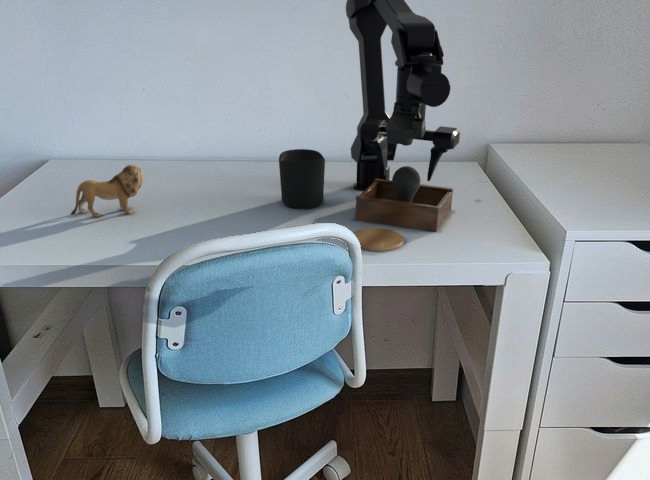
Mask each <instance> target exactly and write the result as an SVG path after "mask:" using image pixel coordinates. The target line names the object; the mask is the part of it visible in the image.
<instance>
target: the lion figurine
mask: <svg viewBox="0 0 650 480" xmlns="http://www.w3.org/2000/svg"><path fill="white" fill-rule="evenodd" d="M143 183H144V178H143V174H142V168H141V167H140V166H137V165H135V164H127V165H126V166H124V167H123V169H122V170H121V171H120V172H119V173H117V174H115V175H114V176H113V177H112V178H111V179H110V180H107V181H98V180H93V179H89V180H88V179H87V180H84V181H82V182H81V183H80V184H79V185H78V187H77V189H76V195H75V205H74V208H73V210H71V212H70V215H71V216H72V215H76V214H77V211H78V212H79V213H81V214H83V213H86V212H87V210H88V212H89V213H90V214H91V216H92V217H94V218H98V217H100V212H96V211H95V210H94V204H95V199H96V197H97V198H99V199H102V200H106V201H113V200H118V203H119V208H120V210H122V211H123V212H124V213H125V214H126V215H131V214H132V210H130V209H129V199H130V198H134V197H136V195H137V194H138V191H139V190H140V189H141V188H142V186H143ZM81 193H82V195H81ZM86 203H87V209H86V208H83V207H84V205H85V204H86Z"/></svg>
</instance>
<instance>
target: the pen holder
mask: <svg viewBox="0 0 650 480" xmlns="http://www.w3.org/2000/svg"><path fill="white" fill-rule="evenodd" d="M278 168H279V181H280V193H281V202H282V204H283V205H284V206H285V207H288V208H291V209H294V210H295V209H297V210H309V209H315V208H318V207H320V206H321V205H322V204H323V202H324V193H325V192H324V191H325V169H326V158H325V157H324V156H323V154H322V153H321V152H320V151H318V150H315V149H308V148H307V149H306V148H297V149H288V150H285V151H282V152H281V153H280V154H279V157H278Z"/></svg>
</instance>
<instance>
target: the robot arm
mask: <svg viewBox="0 0 650 480" xmlns="http://www.w3.org/2000/svg"><path fill="white" fill-rule="evenodd" d="M345 13H346V14H345V15H346V18H347V19H348V25H349V30H350V32H351V33H352V35H353V36H354V37H355V39H356V40H357V42H358V44H357V45H358V54H359V55H358V56H359V69H360V70H359V71H360V85H361V96H362V97H361V98H362V112H363V113H362V114H363V115H362V116H361V118H360V121H359V122H358V124H357V126H356V136H355V138H354V140H353V142H352V144H351V146H350V157H351V159H352V160H353V161H355V162H356V180H355V182H356V183H355V184H354V185H353V189H355V190H363V191H364V190H366V189H367V188H368V187H369V186H370V185H371V184H372V183H373V182H374V180H375V179H384V180H390V168H391V167H390V166H389V161H391V162H392V161H394V160H395V157H396V153H397V152H396V151H397V147H398V145H402V146H404V147H408V146H411V145H412V144H413V141H414V140H417V141H426V142H427V141H428V142H432V145H433V146H432V147H431V148H430V158H429V164H428V168H427V179H426V180H427V182H430V181H431V180H432V179H433V176H434V174H435V170H436V168H437V166H438V164H439V162H440V159H441V158H442V155H443V154H445V153H447V152H449V150H454V149H455V148H456V147H457V145H458V144H459V143H460V139H461V137H460V136H461V133H460V132H461V131H460V129H458V127H453V126H452V127H450V126H443V125H442V126H441V125H440V126H439V127H437V128H436V129H435V130H428V129H426V110H427V106H428V107H431V108H436V107H440V106H442V105H443V104H444V103H445V102H446V101H447V100H448V98H449V96H450V94H451V83H450V80H449V78H448V77H447V75H446V74H444V73H443V72H442V68H443V65H444V58H443V57H444V51H443V48H442V47H443V46H442V44H441V41H440V37H439V33H438V30H437V29H436V26H435V24H434V23H433V22H432V21H431V20H430V19H429V18H428V17H425V16H422V15H419V14H417V13H415V12H414V11H413V10H412V8H411V7H410V6H409V5H408V3H407V2H406V1H405V0H346V3H345ZM387 26H388V28H389V30H390V31H391V39H390V45H391V46H392V49H393V53H394V54H395V57H396V60H395V62H394V65H395V67H397V69H396V87H395V90H396V91H395V102H394V103H393V110H392V113H391V116H389V114H388V113H387V111H386V99H385V98H386V97H385V83H384V81H385V80H384V68H383V51H382V37H383V35H384V32H385V31H386V28H387Z"/></svg>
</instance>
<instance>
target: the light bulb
mask: <svg viewBox="0 0 650 480" xmlns="http://www.w3.org/2000/svg"><path fill="white" fill-rule="evenodd" d="M391 181H392V185H393V188H394V190H395V192H396V194H397V197H398V201H403V202H411V203H412V200H413V197H414V195H415V194H416V192H417V190H418V189H419V186H420V184H421V176H420V173H419V172H418V171H417V170H416V168H414V167H412V166H409V165H405V166H400V167H399V168H398V169H397V170H396V171H394V173H393V176H392V178H391Z"/></svg>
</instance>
